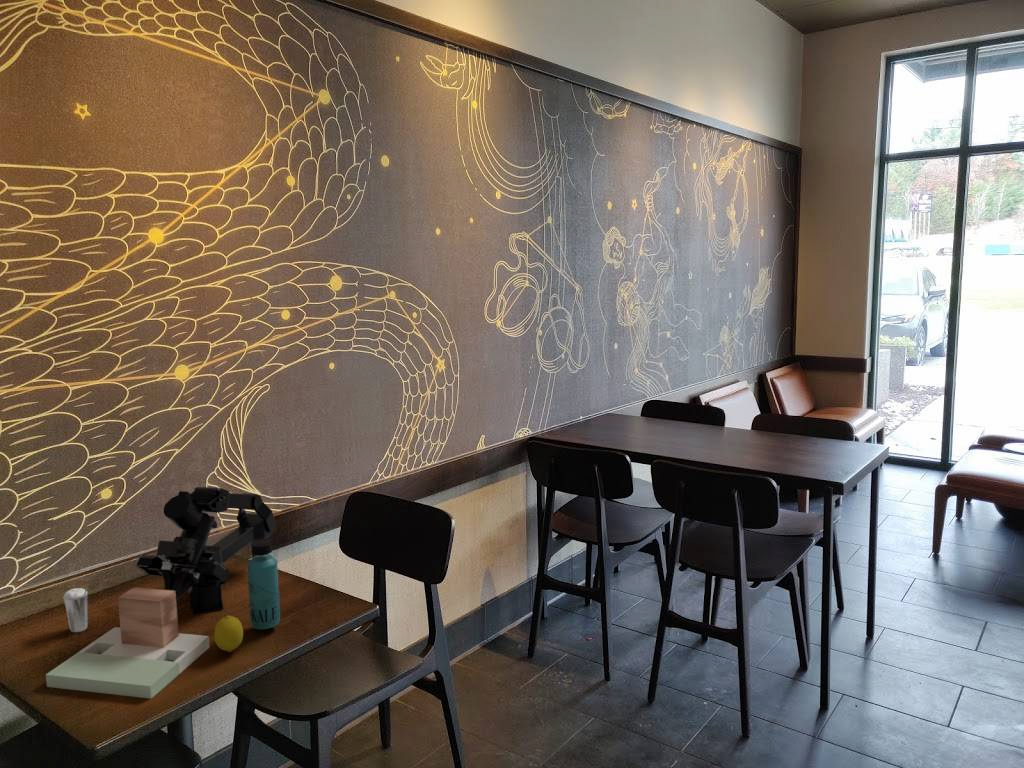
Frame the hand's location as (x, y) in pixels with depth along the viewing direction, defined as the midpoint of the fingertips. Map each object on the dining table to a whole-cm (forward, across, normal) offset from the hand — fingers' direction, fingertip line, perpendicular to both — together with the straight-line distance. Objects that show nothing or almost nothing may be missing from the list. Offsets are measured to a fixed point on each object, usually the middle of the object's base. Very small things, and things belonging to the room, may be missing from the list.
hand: (166, 606), depth 160 cm
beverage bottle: (0, +19, +10) cm, 21 cm away
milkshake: (+5, -21, +5) cm, 22 cm away
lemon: (+8, +16, +3) cm, 18 cm away
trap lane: (+13, 0, -4) cm, 14 cm away
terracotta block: (+7, 0, -1) cm, 7 cm away
